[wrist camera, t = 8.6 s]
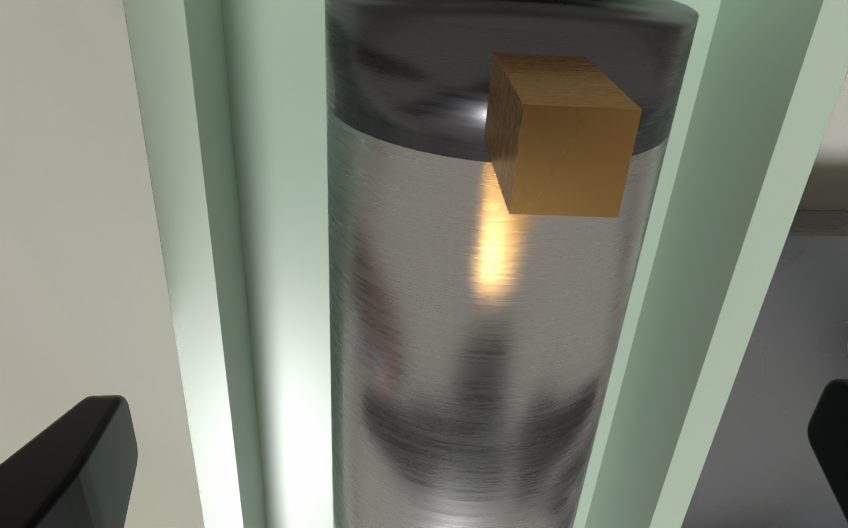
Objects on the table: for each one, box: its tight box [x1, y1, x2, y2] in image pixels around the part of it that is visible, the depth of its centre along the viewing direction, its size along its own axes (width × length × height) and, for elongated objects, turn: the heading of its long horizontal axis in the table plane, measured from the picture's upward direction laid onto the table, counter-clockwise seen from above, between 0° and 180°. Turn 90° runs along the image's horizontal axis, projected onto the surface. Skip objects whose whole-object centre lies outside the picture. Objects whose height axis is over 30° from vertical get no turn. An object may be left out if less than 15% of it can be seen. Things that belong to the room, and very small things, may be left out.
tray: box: [123, 0, 848, 528], centre depth 13 cm, size 8×18×3 cm, turn 177°
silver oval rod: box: [325, 0, 699, 528], centre depth 11 cm, size 4×15×6 cm, turn 177°
